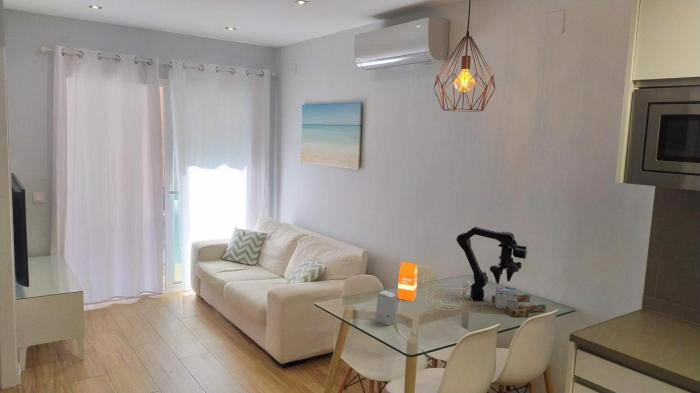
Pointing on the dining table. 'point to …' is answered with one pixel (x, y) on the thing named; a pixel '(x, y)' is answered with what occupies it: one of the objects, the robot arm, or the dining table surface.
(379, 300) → the skincare box
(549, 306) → the dining table surface
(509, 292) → the light bulb box
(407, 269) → the orange juice
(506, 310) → the corridor
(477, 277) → the robot arm
